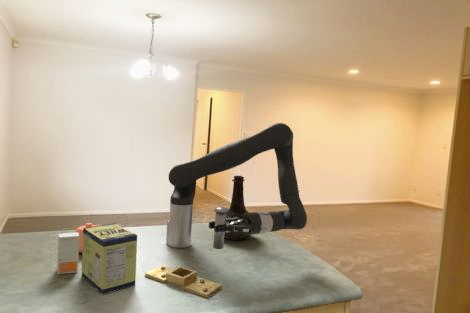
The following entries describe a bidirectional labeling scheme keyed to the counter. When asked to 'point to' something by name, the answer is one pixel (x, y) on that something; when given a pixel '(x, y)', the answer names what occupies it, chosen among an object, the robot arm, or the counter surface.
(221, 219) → the hinge pin
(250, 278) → the counter surface
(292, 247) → the counter surface
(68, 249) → the skincare box
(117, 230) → the protein box
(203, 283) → the hinge leaves
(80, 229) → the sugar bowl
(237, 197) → the glass bottle
